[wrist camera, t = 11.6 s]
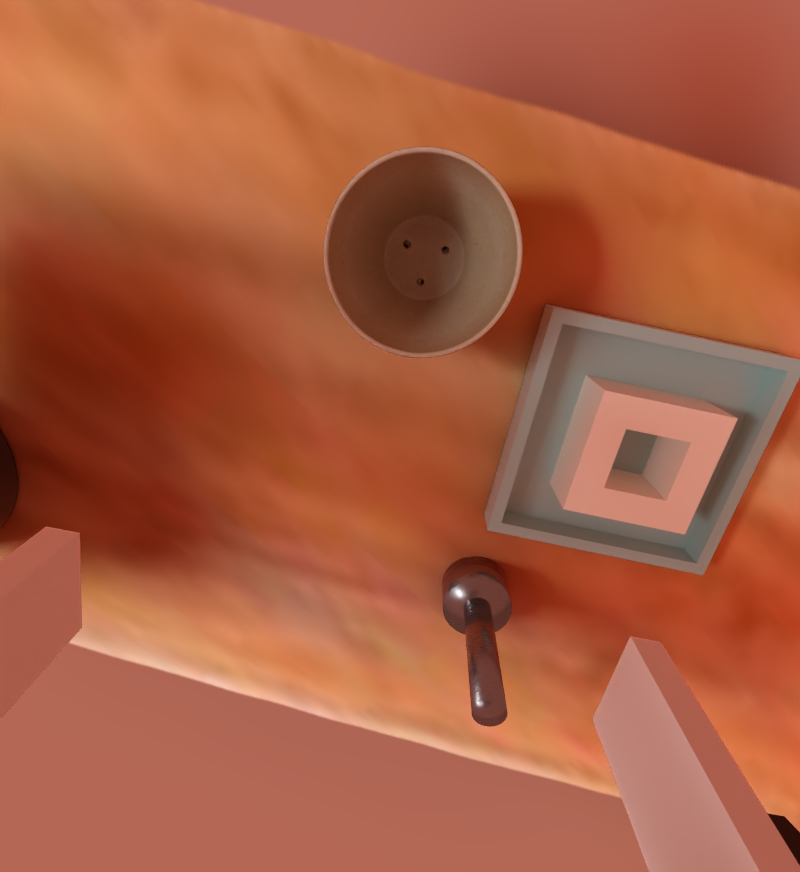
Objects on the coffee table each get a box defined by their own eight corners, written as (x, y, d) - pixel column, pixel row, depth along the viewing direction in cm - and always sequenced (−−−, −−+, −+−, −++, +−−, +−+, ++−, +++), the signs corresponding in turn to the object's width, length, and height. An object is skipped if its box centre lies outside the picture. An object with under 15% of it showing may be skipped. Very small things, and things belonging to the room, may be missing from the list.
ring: (549, 482, 36) (563, 509, 33) (585, 374, 34) (604, 390, 30) (659, 505, 36) (684, 534, 33) (704, 399, 34) (737, 418, 30)
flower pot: (532, 282, 32) (558, 290, 26) (400, 365, 35) (392, 392, 28) (451, 132, 30) (457, 97, 23) (315, 232, 32) (283, 227, 25)
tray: (484, 513, 38) (487, 530, 36) (545, 303, 33) (553, 307, 30) (687, 556, 38) (703, 575, 36) (782, 353, 33) (807, 361, 30)
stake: (436, 602, 41) (436, 735, 30) (450, 550, 39) (456, 670, 28) (496, 615, 41) (520, 753, 30) (513, 563, 39) (545, 689, 28)
